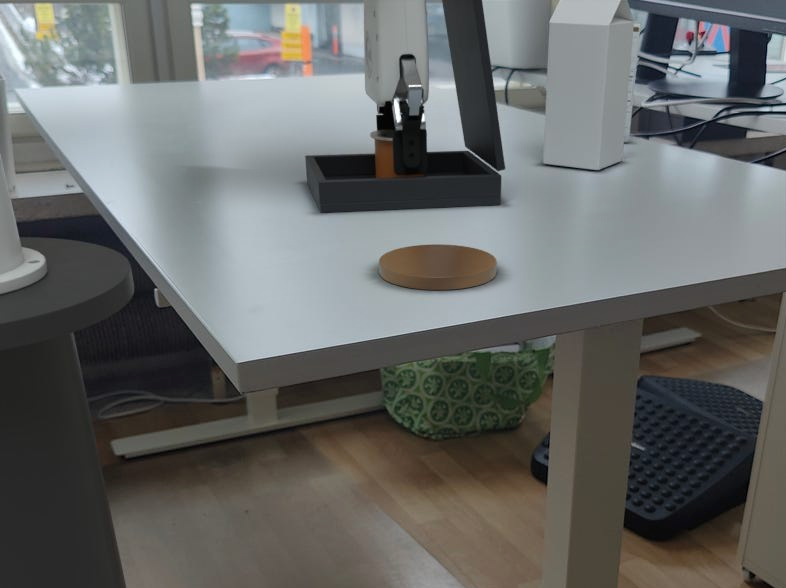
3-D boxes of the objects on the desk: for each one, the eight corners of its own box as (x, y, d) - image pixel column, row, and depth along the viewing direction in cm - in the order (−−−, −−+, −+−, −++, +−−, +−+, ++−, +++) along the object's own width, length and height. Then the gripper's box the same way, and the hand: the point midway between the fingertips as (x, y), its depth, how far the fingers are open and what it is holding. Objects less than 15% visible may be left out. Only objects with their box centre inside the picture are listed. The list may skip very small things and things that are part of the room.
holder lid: (466, -46, 82) (475, -48, 82) (434, -47, 94) (442, -48, 94) (497, 171, 92) (505, 169, 92) (464, 146, 103) (472, 145, 103)
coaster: (390, 293, 69) (389, 280, 68) (371, 259, 76) (370, 247, 76) (510, 286, 71) (510, 272, 70) (480, 253, 78) (480, 241, 78)
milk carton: (598, 171, 109) (612, -19, 99) (542, 165, 112) (550, -20, 102) (622, 162, 114) (638, -20, 104) (568, 156, 117) (578, -21, 107)
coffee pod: (376, 192, 94) (374, 138, 92) (368, 180, 99) (366, 129, 96) (432, 190, 95) (432, 137, 93) (421, 178, 100) (420, 128, 97)
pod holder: (320, 212, 90) (318, 182, 88) (307, 183, 101) (305, 155, 100) (500, 204, 94) (501, 175, 92) (468, 177, 105) (468, 150, 104)
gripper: (342, -33, 94) (353, 150, 103) (368, -28, 79) (378, 184, 88) (417, -33, 96) (421, 147, 104) (455, -28, 81) (457, 180, 90)
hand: (401, 164), depth 96 cm, fingers open, 9 cm apart
